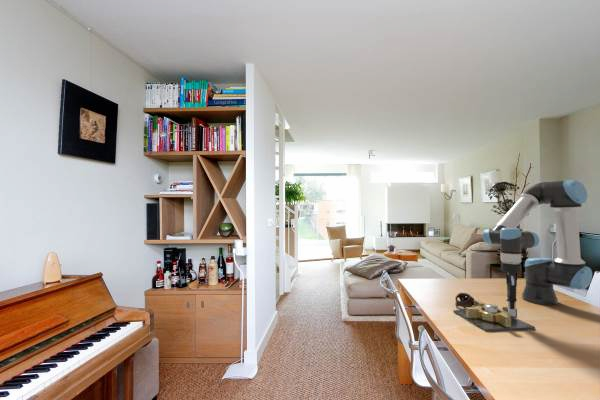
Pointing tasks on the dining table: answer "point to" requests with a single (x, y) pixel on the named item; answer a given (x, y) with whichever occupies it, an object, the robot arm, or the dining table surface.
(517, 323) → the flange plate
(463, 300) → the pottery mug
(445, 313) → the dining table surface
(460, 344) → the dining table surface
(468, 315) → the ring nut
